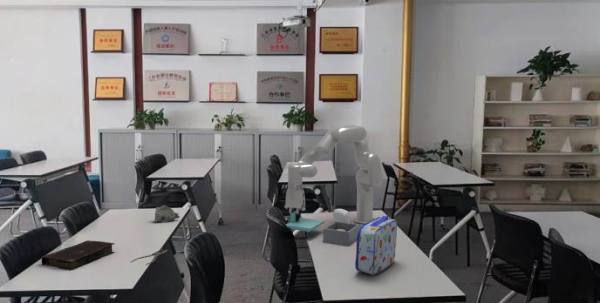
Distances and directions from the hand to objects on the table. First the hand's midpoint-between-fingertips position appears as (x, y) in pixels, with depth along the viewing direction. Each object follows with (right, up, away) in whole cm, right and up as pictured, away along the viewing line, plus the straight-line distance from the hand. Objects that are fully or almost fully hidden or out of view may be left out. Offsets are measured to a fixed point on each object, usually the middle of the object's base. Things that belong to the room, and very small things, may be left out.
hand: (294, 220), depth 247 cm
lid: (+6, -4, -3) cm, 7 cm away
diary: (-97, -12, -40) cm, 106 cm away
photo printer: (+26, -7, +5) cm, 27 cm away
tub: (+24, -8, -11) cm, 28 cm away
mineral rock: (-77, -5, +23) cm, 80 cm away
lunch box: (+36, -13, -50) cm, 63 cm away
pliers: (-67, -12, -38) cm, 78 cm away
